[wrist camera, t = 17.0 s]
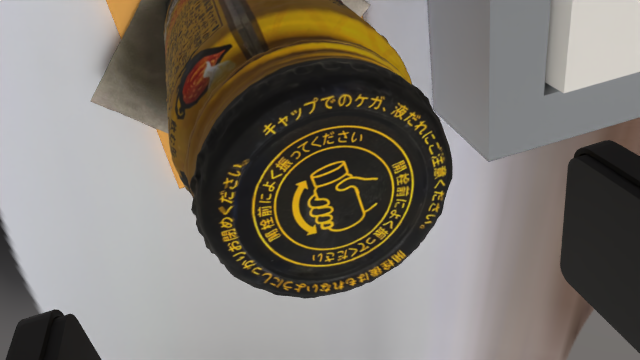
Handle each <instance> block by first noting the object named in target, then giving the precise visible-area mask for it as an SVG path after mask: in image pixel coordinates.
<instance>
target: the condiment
mask: <svg viewBox="0 0 640 360" xmlns="http://www.w3.org/2000/svg"><path fill="white" fill-rule="evenodd" d="M369 6H370V4H368V3H367V2H366V1H364V0H141V1H140V3H139V6H138V8H137V10H136V12H135V14H134V16H133V18H132V20H131V22H130V24H129V26H128V28H127V30H126V32H125V34H124V35H123V37H122V39H121V41H120V43H119V45H118V47H117V49H116V51H115V53H114V55H113V57H112V59H111V61H110V63H109V65H108V67H107V69H106V71H105V74H104V76H103V77H102V79H101V81H100V83H99V85H98V87H97V89H96V91H95V93H94V95H93V97H92V99H91V102H93V103H96V104H98V105H101V106H103V107H105V108H107V109H110V110H113V111H116V112H119V113H121V114H123V115H125V116H128V117H130V118H133V119H135V120H137V121H140V122H142V123H144V124H146V125H149V126H151V127H153V128H156V129H158V130H161V131H163V132H165V133H168V135H169V146H170V152H171V155H172V161H173V164H174V166H175V168H176V171H177V172H178V174H179V177H180V179H181V181H182V182H183V184H184V186H185V188H186V189H187V190H188V191H189V192H190V193H191V195H192V196H193V202H192V209H191V210H192V212H193V214H194V215H196V218H197V220H196V225H197V227H198V231H199V233H200V234H201V235H202V236H203V237H204V240H205V244H206V247H207V248H208V249H209V250H210V251H211V253H213V254H215V255H216V256H217V257H218V258H219V260H220V262H221V263H222V264H224V265H225V267H226V269H227V270H228V271H229V272H230V273H231V274H232V275H233V276H234V277H236V278H238V279H240V280H242V281H244V282H246V283H248V284H249V285H251V286H253V287H256V288H259V289H263V290H266V291H268V292H271V293H273V294H275V295H281V296H292V297H300V298H315V297H319V296H325V295H331V294H336V293H340V292H345V291H348V290H351V289H354V288H356V287H359V286H362V285H364V284H365V283H369V282H372V281H373V280H375V279H376V278H378V277H380V276H381V275H383V274H384V273H386V272H388V271H390V270H391V269H393V268H394V267H397V266H398V265H399V264H401V263H402V262H403V261H404V260H405V259H406V258H407V257H408V256H409V255H410V254H411V253H412V252H413V251H414V250H415V249H416V248H418V246H419V245H420V243H421V242H422V241H423V240H424V239H425V237H426V235H427V234H428V233H429V231H430V230H431V228H432V227H433V226H434V225H435V223H436V220H437V218H438V217H439V216H440V215H441V213H442V210H443V205H444V200H445V197H446V193H447V190H448V187H449V184H450V182H451V179H452V158H451V152H450V147H449V144H448V141H447V139H446V136H445V133H444V130H443V127H442V124H441V122H440V119H439V117H438V116H437V115H436V114H435V113H434V111H433V109H432V107H431V105H430V102H429V99H428V98H427V97H426V96H424V94H423V93H422V92H421V91H420V90H419V89H418V88H417V87H415V86H413V85H412V83H411V79H410V76H409V74H408V72H407V70H406V68H405V65H404V63H403V61H402V59H401V58H400V56H399V55H398V54H397V52H396V50H395V49H393V48H392V47H391V46H390V45H389V44H388V41H387V39H386V38H385V37H384V36H382V35H380V34H379V33H378V32H376V30H375V29H374V28H373V27H371V26H370V25H369V23H367V22H366V21H365V20H363V19H362V18H361V17H362V15H363V14H364V12H365V11H366V10H367V9H368V8H369Z"/></svg>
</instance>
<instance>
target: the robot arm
mask: <svg viewBox="0 0 640 360" xmlns="http://www.w3.org/2000/svg"><path fill="white" fill-rule="evenodd" d="M560 267H561V271H562V274H563V276H564V278H565V279H566V281H567V282H568V283H569V284H570V285H571V286H572V287H573V288H574V289H575V290H576V291H577V292H578V293H579V294H580V295H581V296H582V297H583V298H584V299H585V300H586V301H587V302H588V303H589V304H590V305H591V306H592V307H593V308H594V309H595V310H596V311H597V312H598V313H599V314H600V315H601V316H602V317H603V318H604V319H605V320H606V321H607V322H608V323H609V324H610V325H612V327H613V328H614V329H615V330H617V332H619V333H620V334H621V335H622V336H623V337H624V338H625V339H626V340H627V341H628V342H629V343H630V344H631V345H632V346H633V347H634V348H635V349H636V350H637V351H638V352H639V353H640V156H638V155H636V154H635V153H633V152H631V151H630V150H628V149H626V148H624V147H623V146H621V145H619V144H617V143H616V142H613V141H610V140H607V141H602V142H599V143H596V144H593V145H589V146H586V147H583V148H580V149H578V150H577V151H576V153H575V154H574V158H573V159H571V160H570V162H569V164H568V173H567V185H566V198H565V210H564V223H563V236H562V248H561V261H560ZM6 360H101V358H100V357H99V355H98V353H97V352H96V350H95V348H94V347H93V345H92V343H91V342H90V340H89V338H88V337H87V335H86V333H85V332H84V330H83V328H82V326H81V325H80V323H79V321H78V320H77V318H76V317H75V316H74V315H73V314H68V315H65V316H64V314H63V313H62V312H61V311H59V310H52V311H48V312H45V313H42V314H39V315H35V316H32V317H29V318H26V319H23V320H21V321H20V322H19V323H18V325H17V327H16V330H15V333H14V336H13V339H12V342H11V345H10V348H9V351H8V354H7V357H6Z"/></svg>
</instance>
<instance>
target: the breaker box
mask: <svg viewBox="0 0 640 360" xmlns="http://www.w3.org/2000/svg"><path fill="white" fill-rule="evenodd" d="M550 3H551V0H428V18H429V36H430V54H431V72H432V90H433V107H434V111H435V112H436V113H437V114H438V115H439V116H440V117H441V118H442V119H443V120H444V121H446V122H447V123H448V124H449V125H450V126H451V127H452V128H453V129H454V130H455V131H456V132H457V133H458V134H459V135H460V136H462V137H463V138H464V139H465V140H466V141H467V142H468V143H469V144H470V145H471V146H472V147H473V148H474V149H475V150H476V151H478V152H479V153H480V154H481V155H482V156H483V157H484V158H485V159H486V160H487V161H488V162H490V161H493V160H497V159H500V158H504V157H507V156H510V155H514V154H517V153H520V152H524V151H527V150H531V149H534V148H537V147H541V146H544V145H547V144H551V143H554V142H558V141H561V140H564V139H568V138H571V137H574V136H578V135H581V134H585V133H588V132H591V131H595V130H598V129H601V128H605V127H608V126H612V125H615V124H618V123H622V122H625V121H628V120H632V119H635V118H639V117H640V72H637V73H634V74H630V75H627V76H623V77H620V78H616V79H613V80H609V81H606V82H602V83H599V84H595V85H591V86H588V87H584V88H581V89H577V90H574V91H570V92H567V93H562V92H561V91H559V90H557V89H556V88H554V87H552V86H550V85H549V84H547V83H545V73H546V59H547V45H548V31H549V17H550Z"/></svg>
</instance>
